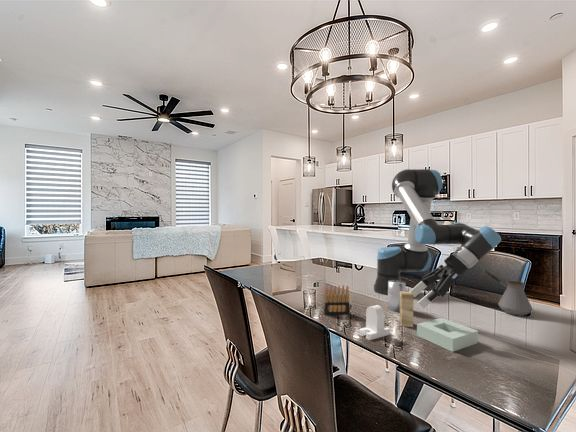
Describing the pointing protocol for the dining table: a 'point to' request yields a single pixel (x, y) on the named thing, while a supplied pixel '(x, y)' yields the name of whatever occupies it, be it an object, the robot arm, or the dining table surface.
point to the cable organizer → (374, 323)
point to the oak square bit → (406, 309)
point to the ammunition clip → (336, 301)
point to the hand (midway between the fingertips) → (416, 299)
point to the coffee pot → (513, 298)
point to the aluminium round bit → (395, 294)
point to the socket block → (447, 334)
